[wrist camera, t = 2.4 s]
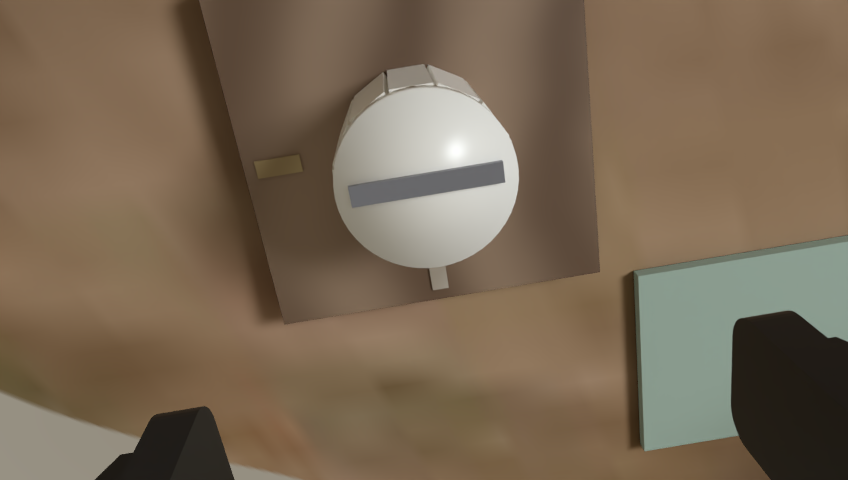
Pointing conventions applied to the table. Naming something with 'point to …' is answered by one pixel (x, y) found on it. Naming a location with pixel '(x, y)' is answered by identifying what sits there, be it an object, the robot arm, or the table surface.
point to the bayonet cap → (423, 169)
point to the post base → (326, 111)
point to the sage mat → (722, 329)
